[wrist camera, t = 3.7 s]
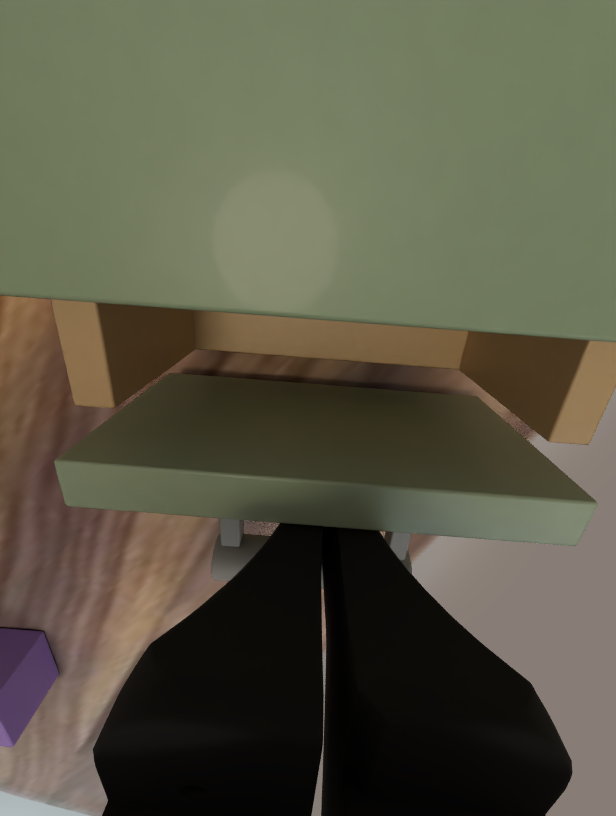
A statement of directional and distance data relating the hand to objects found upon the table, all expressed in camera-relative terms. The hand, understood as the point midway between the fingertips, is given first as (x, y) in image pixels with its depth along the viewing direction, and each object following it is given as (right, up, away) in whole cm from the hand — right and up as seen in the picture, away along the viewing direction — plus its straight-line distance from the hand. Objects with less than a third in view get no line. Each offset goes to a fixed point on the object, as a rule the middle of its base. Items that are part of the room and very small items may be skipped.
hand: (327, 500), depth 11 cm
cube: (-18, -12, +10) cm, 24 cm away
